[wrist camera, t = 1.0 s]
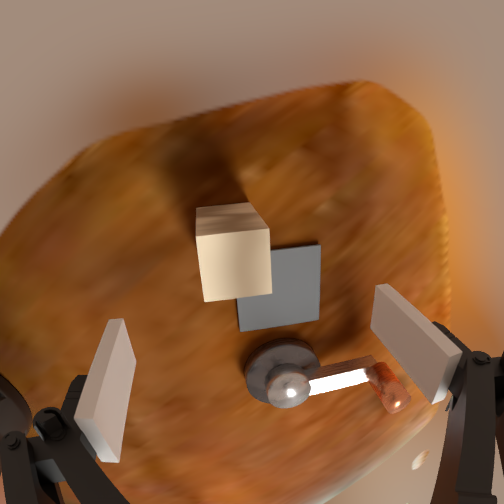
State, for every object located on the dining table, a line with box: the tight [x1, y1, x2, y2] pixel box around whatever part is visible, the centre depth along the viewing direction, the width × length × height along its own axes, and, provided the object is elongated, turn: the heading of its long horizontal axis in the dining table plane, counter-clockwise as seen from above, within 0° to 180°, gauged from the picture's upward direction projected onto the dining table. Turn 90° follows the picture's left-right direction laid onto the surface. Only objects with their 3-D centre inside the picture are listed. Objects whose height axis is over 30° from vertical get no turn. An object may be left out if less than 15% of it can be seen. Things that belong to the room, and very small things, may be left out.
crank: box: [264, 355, 411, 413], centre depth 33 cm, size 15×5×8 cm, turn 94°
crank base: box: [244, 338, 320, 404], centre depth 37 cm, size 9×9×2 cm
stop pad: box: [237, 244, 321, 332], centre depth 34 cm, size 9×9×1 cm
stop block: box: [196, 202, 272, 302], centre depth 27 cm, size 5×5×9 cm
